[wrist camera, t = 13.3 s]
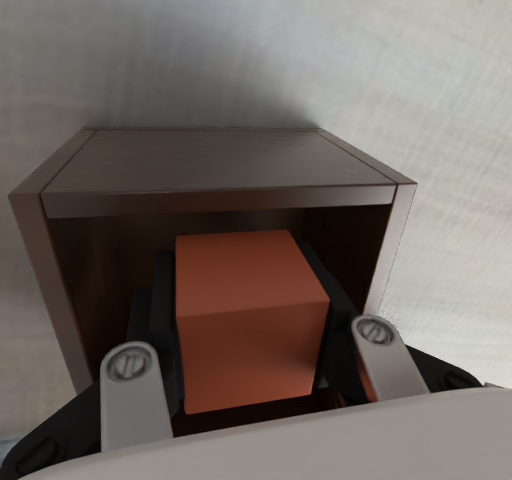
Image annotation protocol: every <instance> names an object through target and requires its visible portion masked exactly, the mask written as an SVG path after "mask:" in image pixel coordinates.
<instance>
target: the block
mask: <svg viewBox="0 0 512 480" xmlns="http://www.w3.org/2000/svg"><path fill="white" fill-rule="evenodd" d="M329 302H330V299H329V297H328V295H327V294H326V292H325V290H324V289H323V287H322V285H321V284H320V282H319V281H318V279H317V277H316V276H315V274H314V272H313V271H312V269H311V267H310V266H309V264H308V262H307V261H306V259H305V257H304V256H303V254H302V253H301V251H300V249H299V248H298V246H297V244H296V243H295V241H294V239H293V238H292V236H291V234H290V233H289V231H288V230H268V231H250V232H232V233H214V234H197V235H179V236H176V325H177V331H178V336H179V345H180V356H181V367H182V378H183V389H184V409H185V413H186V414H193V413H200V412H206V411H212V410H218V409H224V408H230V407H236V406H243V405H249V404H255V403H261V402H267V401H273V400H279V399H285V398H292V397H298V396H304V395H309V394H310V393H311V389H312V385H313V380H314V374H315V370H316V365H317V360H318V355H319V350H320V345H321V340H322V335H323V331H324V326H325V321H326V317H327V312H328V307H329Z"/></svg>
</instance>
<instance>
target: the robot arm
mask: <svg viewBox="0 0 512 480" xmlns="http://www.w3.org/2000/svg"><path fill="white" fill-rule="evenodd" d="M295 243H296V244H297V246H298V248H299V249H300V251H301V253H302V254H303V256H304V257H305V259H306V261H307V262H308V264H309V266H310V267H311V269H312V271H313V272H314V274H315V276H316V277H317V279H318V281H319V282H320V284H321V285H322V287H323V289H324V290H325V292H326V294H327V295H328V297H329V299H330V302H329V307H328V312H327V317H326V321H325V326H324V331H323V335H322V340H321V345H320V350H319V355H318V360H317V365H316V370H315V374H314V380H315V382H316V385H317V387H318V388H323V387H330V388H331V389H333V390H334V393H335V399H336V403H337V407H338V409H334V410H328V411H323V412H317V413H311V414H305V415H300V416H294V417H288V418H283V419H277V420H271V421H266V422H260V423H254V424H249V425H243V426H237V427H232V428H226V429H221V430H215V431H210V432H204V433H199V434H193V435H188V436H182V437H177V438H174V437H173V432H172V427H171V422H170V419H171V418H172V417H173V416H174V414H175V413H176V412H177V411H179V399H184V389H183V378H182V367H181V356H180V345H179V336H178V331H177V325H176V253H173V251H172V249H164V250H156V259H155V270H154V281H153V286H152V287H140V288H135V289H134V294H133V300H132V306H131V312H130V318H129V324H128V330H127V336H126V341H125V343H123V344H121V345H118V346H117V347H115V348H114V349H112V350H111V351H110V352H109V353H108V354H107V355H106V356H105V357H104V359H103V361H102V363H101V368H100V378H99V379H98V380H97V381H95V382H94V383H93V384H92V385H90V386H89V387H88V388H86V389H85V390H84V391H83V392H81V393H80V394H79V395H77V396H76V397H75V398H74V399H72V400H71V401H70V402H69V403H67V404H66V405H65V406H63V407H62V408H61V409H60V410H58V411H57V412H56V413H55V414H53V415H52V416H51V417H49V418H48V419H47V420H46V421H44V422H43V423H42V424H40V425H39V426H38V427H37V428H35V429H34V430H33V431H32V432H30V433H29V434H28V435H26V436H25V437H24V438H23V439H21V440H20V441H19V442H18V443H17V444H16V445H15V446H14V447H13V448H12V449H11V450H10V452H9V453H8V454H7V456H6V457H5V459H4V461H3V463H2V465H0V480H512V389H508V388H503V387H500V386H497V385H493V384H490V383H487V382H485V384H484V386H483V385H482V384H481V383H480V382H479V381H478V380H477V379H476V378H475V377H474V376H472V375H471V374H470V373H468V372H466V371H465V370H463V369H461V368H459V367H456V366H454V365H452V364H449V363H447V362H445V361H443V360H440V359H438V358H436V357H433V356H431V355H429V354H426V353H424V352H422V351H420V350H417V349H415V348H413V347H410V346H408V345H406V344H404V342H403V340H402V338H401V336H400V335H399V333H398V331H397V329H396V328H395V327H394V325H392V324H391V323H390V322H389V321H387V320H385V319H384V318H382V317H379V316H376V315H369V314H366V315H360V313H359V312H358V310H357V309H356V307H355V306H354V304H353V303H352V301H351V300H350V298H349V297H348V296H347V294H346V293H345V291H344V290H343V288H342V287H341V285H340V284H339V282H338V281H337V279H336V278H335V277H334V275H333V274H332V273H331V272H327V270H326V269H325V267H324V266H323V264H322V263H321V261H320V260H319V258H318V257H317V255H316V254H315V252H314V251H313V249H312V248H311V246H310V245H309V243H308V242H307V241H295Z"/></svg>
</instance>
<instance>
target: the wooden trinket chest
mask: <svg viewBox="0 0 512 480" xmlns="http://www.w3.org/2000/svg"><path fill="white" fill-rule="evenodd" d="M416 187H417V182H415V181H413V180H411V179H410V178H408V177H406V176H404V175H403V174H401V173H399V172H397V171H396V170H394V169H392V168H390V167H389V166H387V165H385V164H384V163H382V162H380V161H378V160H377V159H375V158H373V157H371V156H370V155H368V154H366V153H364V152H363V151H361V150H359V149H357V148H356V147H354V146H352V145H350V144H349V143H347V142H345V141H343V140H342V139H340V138H338V137H337V136H335V135H333V134H331V133H330V132H327V131H326V130H324V129H311V128H185V127H83V128H82V129H81V130H80V131H78V132H77V133H76V134H75V135H74V136H73V137H72V138H71V139H69V140H68V141H67V142H66V143H65V144H64V145H63V146H62V147H61V148H59V149H58V150H57V151H56V152H55V153H54V154H53V155H52V156H50V157H49V158H48V159H47V160H46V161H45V162H44V163H43V164H42V165H40V166H39V167H38V168H37V169H36V170H35V171H34V172H33V173H32V174H30V175H29V176H28V177H27V178H26V179H25V180H24V181H23V182H22V183H20V184H19V185H18V186H17V187H16V188H15V189H14V190H13V191H11V192H10V193H9V194H8V199H9V202H10V205H11V208H12V210H13V213H14V216H15V219H16V222H17V225H18V228H19V231H20V233H21V236H22V239H23V242H24V245H25V248H26V251H27V254H28V256H29V259H30V262H31V265H32V268H33V271H34V274H35V277H36V279H37V282H38V285H39V288H40V291H41V294H42V297H43V300H44V302H45V305H46V308H47V311H48V314H49V317H50V320H51V323H52V325H53V328H54V331H55V334H56V337H57V340H58V343H59V346H60V348H61V351H62V354H63V357H64V360H65V363H66V366H67V369H68V371H69V374H70V377H71V380H72V383H73V386H74V389H75V392H76V394H77V395H79V394H80V393H81V392H83V391H84V390H85V389H86V388H88V387H89V386H90V385H92V384H93V383H94V382H95V381H97V380H98V379H99V378H100V368H101V363H102V361H103V359H104V357H105V356H106V355H107V354H108V353H109V352H110V351H111V350H112V349H114V348H115V347H117V346H118V345H121V344H123V343H125V341H126V336H127V330H128V324H129V318H130V312H131V306H132V300H133V294H134V289H135V288H140V287H152V286H153V281H154V270H155V259H156V250H164V249H172V251H173V253H176V236H179V235H197V234H214V233H232V232H250V231H268V230H288V231H289V233H290V234H291V236H292V238H293V239H294V241H307V242H308V243H309V245H310V246H311V248H312V249H313V251H314V252H315V254H316V255H317V257H318V258H319V260H320V261H321V263H322V264H323V266H324V267H325V269H326V270H327V272H331V273H332V274H333V275H334V277H335V278H336V279H337V281H338V282H339V284H340V285H341V287H342V288H343V290H344V291H345V293H346V294H347V296H348V297H349V298H350V300H351V301H352V303H353V304H354V306H355V307H356V309H357V310H358V312H359V313H360V315H366V314H369V315H376V316H377V314H378V311H379V308H380V304H381V301H382V298H383V295H384V291H385V288H386V285H387V282H388V278H389V275H390V272H391V269H392V265H393V262H394V259H395V256H396V252H397V249H398V246H399V243H400V239H401V236H402V233H403V230H404V226H405V223H406V220H407V217H408V213H409V210H410V207H411V204H412V200H413V197H414V194H415V191H416ZM334 409H338V407H337V403H336V399H335V393H334V390H333V389H331V388H330V387H323V388H318V387H317V385H316V382H315V380H313V385H312V389H311V393H310V394H309V395H304V396H298V397H292V398H285V399H279V400H273V401H267V402H261V403H255V404H249V405H243V406H236V407H230V408H224V409H218V410H212V411H206V412H200V413H193V414H186V413H185V409H184V399H179V411H177V412H176V413H175V414H174V416H173V417H172V418H171V419H170V422H171V427H172V432H173V437H174V438H177V437H182V436H188V435H193V434H199V433H204V432H210V431H215V430H221V429H226V428H232V427H237V426H243V425H249V424H254V423H260V422H266V421H271V420H277V419H283V418H288V417H294V416H300V415H305V414H311V413H317V412H323V411H328V410H334Z"/></svg>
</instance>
